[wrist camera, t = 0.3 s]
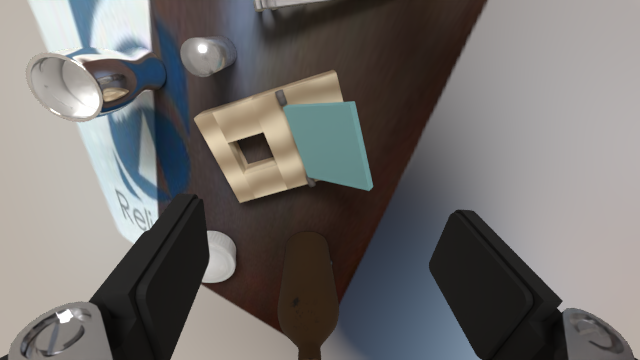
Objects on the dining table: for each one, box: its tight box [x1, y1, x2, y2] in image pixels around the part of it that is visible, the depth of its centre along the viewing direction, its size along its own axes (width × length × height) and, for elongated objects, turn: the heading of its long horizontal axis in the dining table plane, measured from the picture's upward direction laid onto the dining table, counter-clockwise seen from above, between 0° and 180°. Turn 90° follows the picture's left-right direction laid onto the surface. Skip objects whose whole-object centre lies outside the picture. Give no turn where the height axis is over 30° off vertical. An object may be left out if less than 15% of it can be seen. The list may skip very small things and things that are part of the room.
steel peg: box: [181, 36, 237, 77], centre depth 34 cm, size 4×4×10 cm
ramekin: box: [202, 231, 236, 283], centre depth 54 cm, size 11×11×5 cm
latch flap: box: [283, 101, 373, 191], centre depth 36 cm, size 12×12×1 cm
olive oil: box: [278, 231, 339, 360], centre depth 47 cm, size 11×11×25 cm
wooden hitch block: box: [194, 70, 343, 203], centre depth 43 cm, size 16×22×5 cm
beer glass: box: [26, 47, 166, 122], centre depth 32 cm, size 7×7×15 cm
